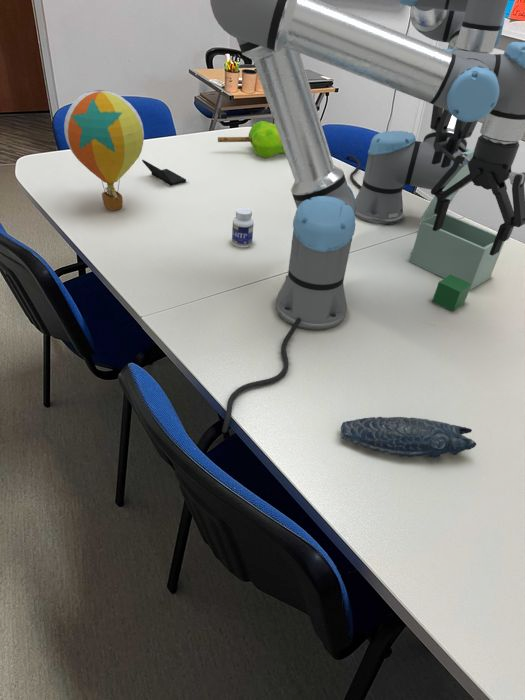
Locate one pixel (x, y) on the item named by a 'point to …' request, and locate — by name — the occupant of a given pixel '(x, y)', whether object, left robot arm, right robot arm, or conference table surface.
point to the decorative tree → (261, 139)
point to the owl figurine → (407, 436)
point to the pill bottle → (242, 228)
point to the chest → (455, 250)
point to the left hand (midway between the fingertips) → (464, 240)
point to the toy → (105, 138)
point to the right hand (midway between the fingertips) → (440, 164)
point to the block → (451, 292)
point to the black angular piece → (165, 175)
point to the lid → (459, 176)
